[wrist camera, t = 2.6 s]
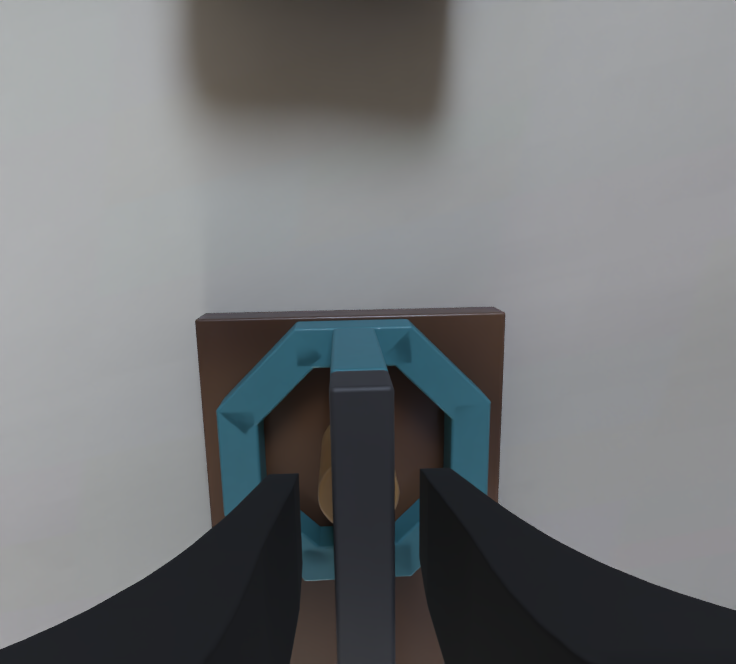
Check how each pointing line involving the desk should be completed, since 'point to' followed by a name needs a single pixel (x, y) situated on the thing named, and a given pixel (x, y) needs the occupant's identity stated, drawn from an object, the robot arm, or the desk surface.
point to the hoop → (356, 459)
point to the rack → (313, 445)
